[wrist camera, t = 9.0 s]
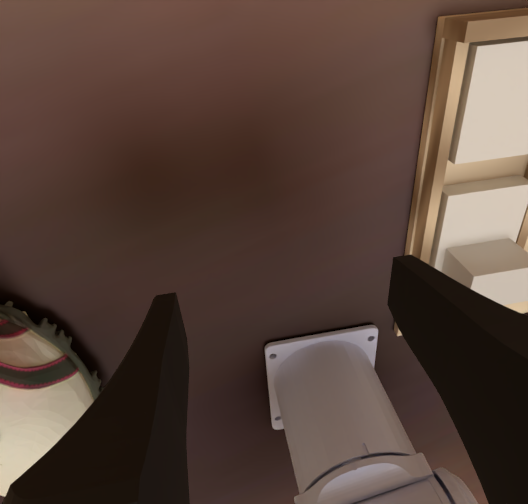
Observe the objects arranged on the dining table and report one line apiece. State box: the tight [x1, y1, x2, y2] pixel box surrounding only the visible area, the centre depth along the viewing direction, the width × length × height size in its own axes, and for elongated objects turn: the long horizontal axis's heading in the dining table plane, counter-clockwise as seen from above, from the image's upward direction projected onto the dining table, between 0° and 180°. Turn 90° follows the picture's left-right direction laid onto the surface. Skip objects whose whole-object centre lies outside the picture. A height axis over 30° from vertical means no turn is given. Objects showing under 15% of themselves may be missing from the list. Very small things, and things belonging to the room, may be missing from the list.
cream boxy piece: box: [429, 36, 528, 305], centre depth 22 cm, size 13×5×4 cm, turn 4°
